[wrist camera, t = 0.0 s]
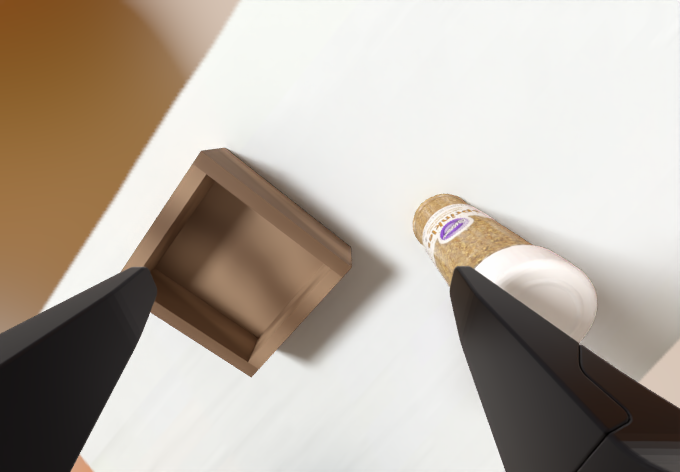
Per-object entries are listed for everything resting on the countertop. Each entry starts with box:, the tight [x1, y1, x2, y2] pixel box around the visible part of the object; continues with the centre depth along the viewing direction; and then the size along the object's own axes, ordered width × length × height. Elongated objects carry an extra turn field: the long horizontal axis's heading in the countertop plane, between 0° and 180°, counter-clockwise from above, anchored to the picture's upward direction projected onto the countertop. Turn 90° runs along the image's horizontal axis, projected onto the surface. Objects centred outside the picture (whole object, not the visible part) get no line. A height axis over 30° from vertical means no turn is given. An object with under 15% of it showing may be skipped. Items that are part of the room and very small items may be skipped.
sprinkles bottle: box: [413, 194, 597, 343], centre depth 18 cm, size 5×5×13 cm
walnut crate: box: [120, 148, 352, 377], centre depth 24 cm, size 12×12×4 cm
